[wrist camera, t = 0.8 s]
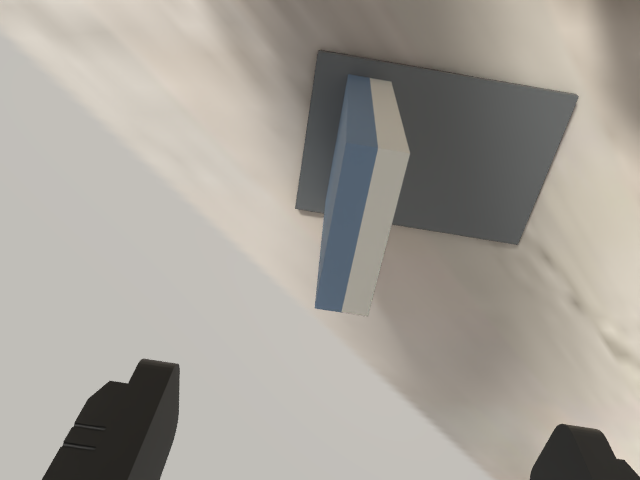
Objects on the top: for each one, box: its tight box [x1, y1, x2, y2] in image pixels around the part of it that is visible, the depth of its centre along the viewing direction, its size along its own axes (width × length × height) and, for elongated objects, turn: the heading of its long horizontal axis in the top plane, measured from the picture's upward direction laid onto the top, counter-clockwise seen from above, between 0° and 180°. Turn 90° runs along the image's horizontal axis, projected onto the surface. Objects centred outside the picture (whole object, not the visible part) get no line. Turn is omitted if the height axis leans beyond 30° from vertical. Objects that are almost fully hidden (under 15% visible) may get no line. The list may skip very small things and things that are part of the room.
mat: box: [295, 50, 579, 245], centre depth 26 cm, size 8×12×1 cm, turn 81°
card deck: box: [315, 74, 410, 316], centre depth 21 cm, size 6×2×9 cm, turn 171°
